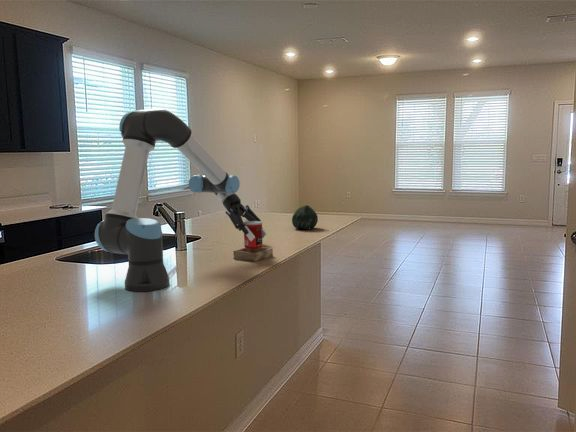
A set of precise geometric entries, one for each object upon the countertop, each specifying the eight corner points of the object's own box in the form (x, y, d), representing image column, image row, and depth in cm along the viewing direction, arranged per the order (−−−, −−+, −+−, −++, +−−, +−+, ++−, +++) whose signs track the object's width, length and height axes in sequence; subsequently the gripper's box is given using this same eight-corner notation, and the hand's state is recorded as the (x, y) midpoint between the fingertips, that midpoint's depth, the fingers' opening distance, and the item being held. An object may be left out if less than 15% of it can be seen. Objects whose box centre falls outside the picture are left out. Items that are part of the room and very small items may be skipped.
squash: (294, 217, 302) (292, 200, 291) (318, 218, 300) (318, 201, 289) (291, 235, 293) (289, 219, 282) (317, 236, 291) (316, 220, 280)
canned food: (260, 249, 212) (259, 223, 210) (242, 248, 213) (241, 223, 212) (264, 245, 219) (264, 221, 217) (247, 245, 221) (246, 220, 219)
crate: (255, 261, 208) (255, 253, 208) (233, 258, 215) (233, 250, 215) (272, 256, 218) (272, 248, 218) (251, 253, 225) (251, 245, 225)
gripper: (217, 195, 210) (248, 235, 203) (248, 191, 227) (277, 228, 220) (209, 207, 214) (239, 247, 207) (239, 202, 231) (268, 239, 224)
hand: (258, 237), depth 214 cm, fingers closed on canned food, 8 cm apart
